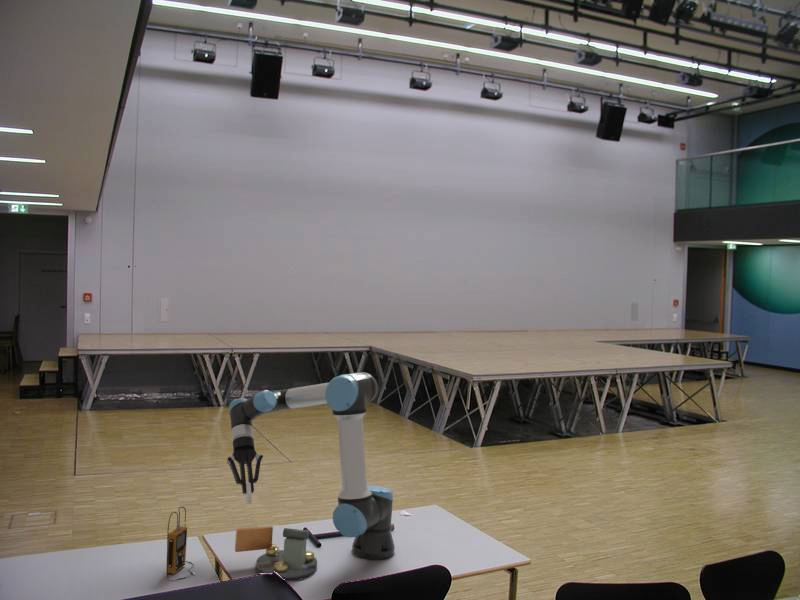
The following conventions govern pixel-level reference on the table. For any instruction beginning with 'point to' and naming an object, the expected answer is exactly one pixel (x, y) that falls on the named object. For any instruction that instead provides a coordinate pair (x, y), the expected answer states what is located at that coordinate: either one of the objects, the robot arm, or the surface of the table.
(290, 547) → the wedge with rod handle
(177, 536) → the multimeter
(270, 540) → the lever
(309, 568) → the tribrach plate
